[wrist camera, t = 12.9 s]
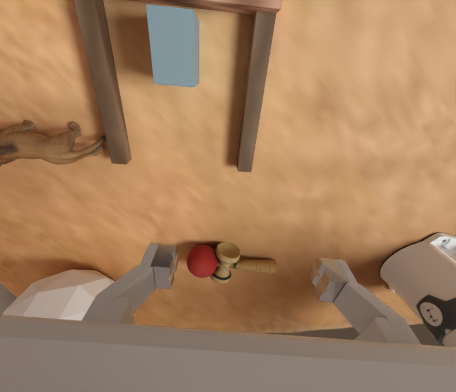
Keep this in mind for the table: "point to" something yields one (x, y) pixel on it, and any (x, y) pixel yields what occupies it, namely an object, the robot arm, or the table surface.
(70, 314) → the geometric polyhedron
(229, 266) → the kendama
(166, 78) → the block
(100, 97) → the stop channel
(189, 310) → the table surface
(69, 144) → the lion figurine
